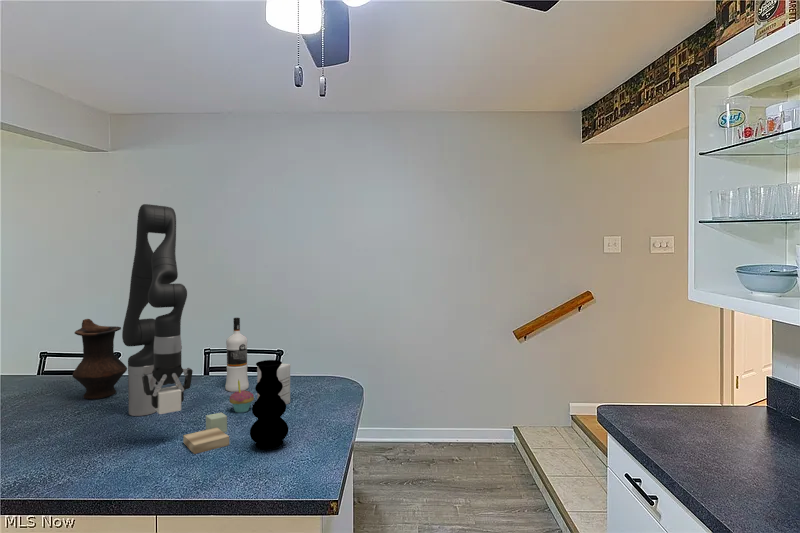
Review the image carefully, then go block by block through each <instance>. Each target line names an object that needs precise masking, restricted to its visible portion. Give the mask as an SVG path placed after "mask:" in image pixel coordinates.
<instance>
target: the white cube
mask: <svg viewBox="0 0 800 533" xmlns="http://www.w3.org/2000/svg"><path fill="white" fill-rule="evenodd" d="M157 396H158V408H156V409H155V410H156V413H157V414H158V415H165V414H168V413H174V412H175V413H176V412H179V411H182V404H181V390H180V389H178V388H177V387H176V385H172V386H167V387H161V389H160V390H159V392H158V394H157Z"/></svg>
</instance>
